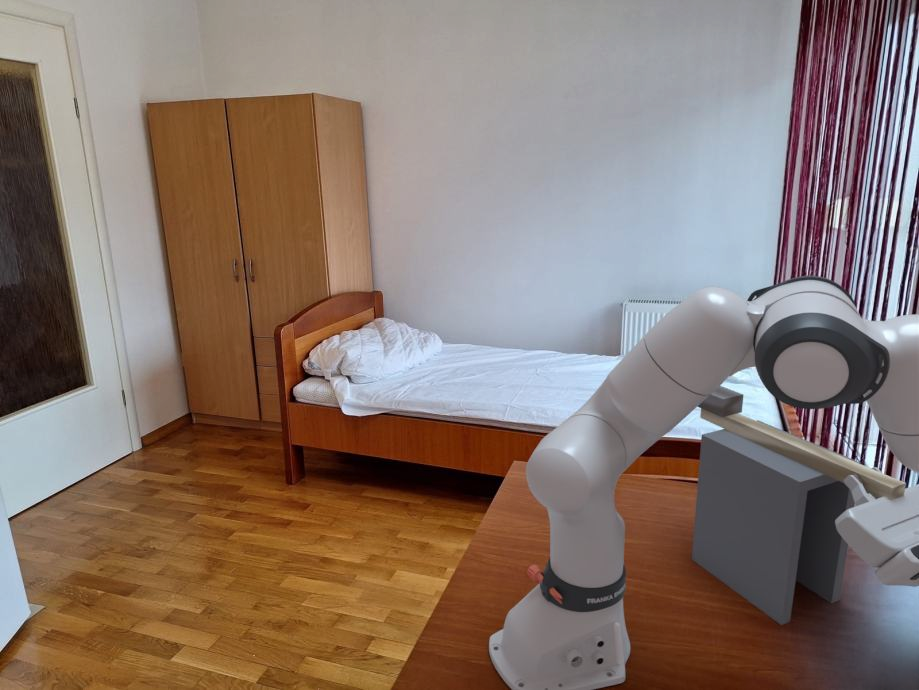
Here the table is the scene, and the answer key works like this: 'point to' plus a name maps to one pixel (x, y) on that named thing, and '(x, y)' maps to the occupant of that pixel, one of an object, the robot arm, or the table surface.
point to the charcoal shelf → (768, 523)
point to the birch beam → (793, 445)
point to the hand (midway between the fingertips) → (859, 473)
